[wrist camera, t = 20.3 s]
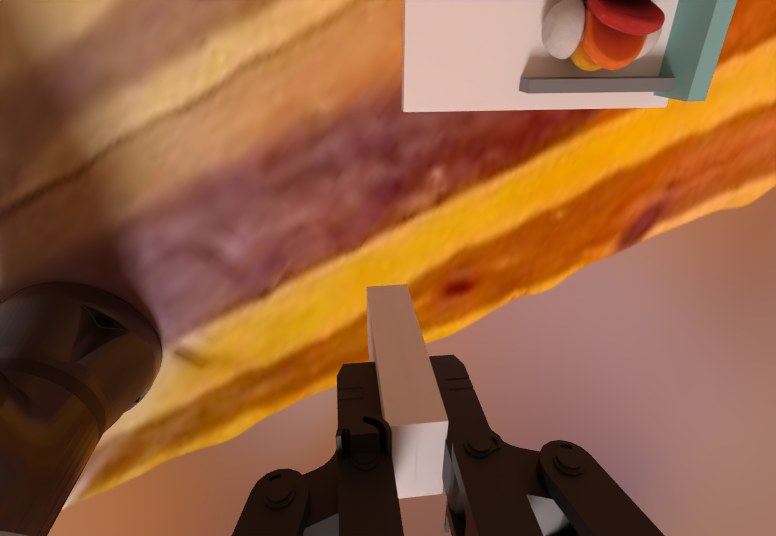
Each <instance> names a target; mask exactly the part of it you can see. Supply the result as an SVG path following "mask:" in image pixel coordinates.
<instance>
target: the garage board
mask: <svg viewBox="0 0 776 536" xmlns="http://www.w3.org/2000/svg"><path fill="white" fill-rule="evenodd" d="M560 1H562V0H403V34H402V108H401V110H402V111H403V112H436V111H491V110H547V109H602V108H658V107H666V106H667V103H668V99H669V98H671V99H677V100H682V101H705V99H706V96H707V93H708V89H709V86H710V83H711V80H712V77H713V74H714V71H715V68H716V64H717V61H718V58H719V55H720V52H721V49H722V46H723V43H724V39H725V36H726V33H727V30H728V27H729V24H730V21H731V18H732V14H733V11H734V8H735V5H736V2H737V0H651V1H652V2H653V3H655V4H656V5H657V6H658V7H659V8H660V9H661V10H662V11H663V13H664V15H665V21H664V24H663V25H662V32H661V35H660V37H659V39H658V41H657V43H656V44H655V46H654V47H653V48H652V49H651V50H650V51H649V52H648V53H647V54H645V55H644V56H642V57H641V58H638V59H636V60H634V61H632V62H631V63H630V64H628V65H627V66H625V67H623V68H620V69H616V70H608V69H605V68H601V69H598V70H595V71H585V70H582V69H580V68H579V67H577V66H576V65H575V64H574V63H573V61H572V60H571V57H570V56H569V57H568V58H566V59H559V58H556V57H554V56H552V55H551V54H550V53H548V51H547V50H546V49H545V47H544V45H543V42H542V36H541V33H542V25H543V22H544V20H545V17H546V16H547V14H548V13H549V11H550V10H551V9H552V8H553V7H554V6H555V5H556V4H557V3H559V2H560ZM582 1H583V3H587V1H588V0H582Z"/></svg>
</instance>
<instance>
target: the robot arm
mask: <svg viewBox="0 0 776 536" xmlns="http://www.w3.org/2000/svg"><path fill="white" fill-rule="evenodd" d="M367 323H368V349H369V357H370V362H365V363H352V364H343V366H342V368H341V370H340V371H339V373H338V375H337V400H338V402H337V403H338V429H337V433H336V446H337V449H336V452H335V454H334V455H333V457H332V458H331V459H330V460H329V461H328V462H327V463H326V464H325V465H323V466H322V467H320V468H318V469H316V470H314V471H311V472H309V473H306V474H304V475H302V474H301V473H299V472H298V471H295V470H292V469H278V470H275V471H273V472H270V473H267V474H266V475H265V476H263V477H262V478H261V479H260V480H259V481H257V483H256V484H255V486H254V487H253V489H252V490H251V493H250V495H249V497H248V500H247V502H246V504H245V506H244V509H243V511H242V513H241V516H240V518H239V520H238V523H237V525H236V527H235V529H234V532H233V534H232V536H404V533H403V526H402V520H401V514H400V506H399V500H398V499H399V498H407V497H417V496H426V495H435V494H442V487H443V484H444V488H445V492H446V495H447V505H446V514H445V532H449V528H450V531H451V534H452V536H664V535H663V533H662V532H661V531H660V530H659V529H658V528H657V527H656V526H655V525H654V524H653V523H652V521H651V520H650V519H649V518H648V517H647V516H646V515H645V514H644V513H643V512H642V511H641V510H640V508H639V507H638V506H637V505H636V504H635V503H634V502H633V501H632V500H631V499H630V497H629V496H628V495H627V494H626V493H625V492H624V491H623V490H622V489H621V488H620V487H619V485H618V484H617V483H615V481H614V480H613V479H612V478H611V477H610V476H609V475H608V474H607V473H606V471H605V470H604V469H603V468H602V467H601V466H600V465H599V464H598V463H597V462H596V460H595V459H594V458H593V457H592V456H591V455H590V454H589V453H588V452H586V451H585V450H584V449H583V448H582V447H580V446H577V445H575V444H573V443H571V442H567V441H562V440H557V441H550V442H549V443H547V444H545V445H544V446H543V447H542V449H541V451H540V452H539V451H534V450H528V449H523V448H519V447H515V446H512V445H509V444H507V443H505V442H504V441H502V439H501V438H500V436H499V435H498V434H496V433H495V432H494V431H492V430H491V428H490V427H489V425H488V423H487V420H486V417H485V415H484V412H483V410H482V407H481V405H480V403H479V400H478V398H477V395H476V393H475V390H473V385H472V383H471V381H470V379H469V375H468V373H467V371H466V368H465V366H464V364H463V363H462V362H460V361H459V359H458V358H456V357H455V356H454V355H444V356H430V357H429V356H428V352H427V349H426V346H425V343H424V339H423V336H422V333H421V330H420V326H419V323H418V320H417V317H416V313H415V310H414V307H413V304H412V300H411V297H410V294H409V290H408V287H407V285H390V286H373V287H367ZM161 361H162V351H161V346H160V342H159V340H158V337H157V335H156V333H155V331H154V329H153V328H152V326H151V325H150V324H149V322H148V321H147V320H146V319H145V318H144V317H143V316H142V315H141V314H140V313H139V312H138V311H137V310H136V309H135V308H133V307H132V306H131V305H129V304H128V303H126V302H125V301H123V300H121V299H120V298H118V297H116V296H114V295H112V294H110V293H107V292H105V291H102V290H99V289H96V288H93V287H89V286H85V285H80V284H74V283H45V284H39V285H34V286H31V287H28V288H25V289H23V290H20V291H18V292H17V293H15V294H13V295H12V296H10V297H9V298H8V299H6V300H5V301H4V302H3V303H2V304H0V536H47V535H48V533H49V531H50V529H51V527H52V526H53V524H54V522H55V520H56V518H57V516H58V515H59V513H60V511H61V509H62V507H63V506H64V504H65V502H66V500H67V498H68V496H69V495H70V493H71V491H72V489H73V487H74V485H75V484H76V482H77V480H78V478H79V476H80V475H81V473H82V471H83V469H84V467H85V465H86V464H87V462H88V460H89V458H90V456H91V454H92V453H93V451H94V449H95V447H96V445H97V444H98V442H99V440H100V438H101V437H102V435H103V433H104V432H105V431H106V430H107V429H109V428H110V427H111V426H112V425H113V424H114V423H115V422H116V421H117V420H118V419H119V418H120V417H121V416H122V414H123V413H124V412H126V411H128V410H130V409H131V408H133V407H134V406H135V405H136V404H137V403H139V402H140V401H141V400H142V399H143V398H144V396H145V395H146V394H147V393H148V391H149V390H150V388H151V386H152V384H153V382H154V380H155V378H156V376H157V375H158V373H159V370H160V367H161Z"/></svg>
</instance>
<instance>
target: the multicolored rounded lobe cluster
mask: <svg viewBox="0 0 776 536" xmlns="http://www.w3.org/2000/svg"><path fill="white" fill-rule="evenodd" d="M664 21H665V15H664V13H663V11H662V10H661V9H660V8H659V7H658V6H657V5H656V4H655V3H653V2H652V1H651V0H588V1H587V3H583V1H582V0H562V1H560V2H559V3H557V4H556V5H555V6H554V7H553V8H552V9H551V10H550V11H549V13H548V14H547V16H546V17H545V20H544V22H543V25H542V33H541V36H542V42H543V45H544V47H545V49H546V50H547V51H548V53H550V54H551V55H552V56H554V57H556V58H559V59H566V58H568V57H569V56H570V57H571V60H572V61H573V63H574V64H575V65H576V66H577V67H579V68H580V69H582V70H585V71H595V70H598V69H601V68H605V69H608V70H616V69H620V68H623V67H625V66H627V65H628V64H630V63H631V62H632V61H634V60H636V59H638V58H641V57H642V56H644V55H645V54H647V53H648V52H649V51H650V50H651V49H652V48H653V47H654V46H655V44H656V43H657V41H658V39H659V37H660V35H661V32H662V25H663V24H664Z"/></svg>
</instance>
